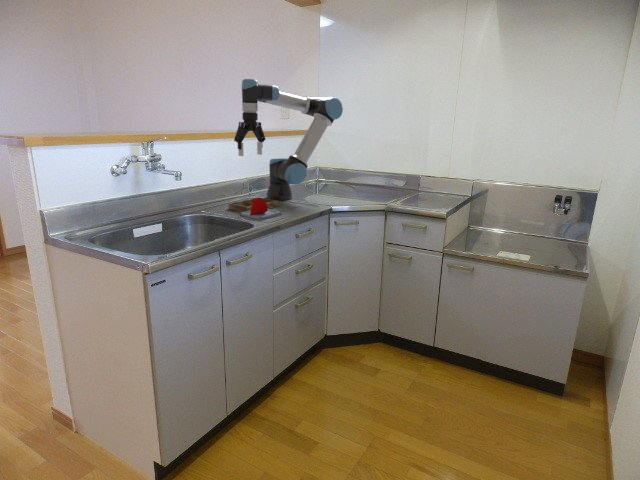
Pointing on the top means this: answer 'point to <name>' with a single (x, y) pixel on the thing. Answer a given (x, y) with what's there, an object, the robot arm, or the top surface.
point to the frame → (242, 205)
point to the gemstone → (258, 206)
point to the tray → (261, 216)
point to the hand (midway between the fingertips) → (250, 155)
